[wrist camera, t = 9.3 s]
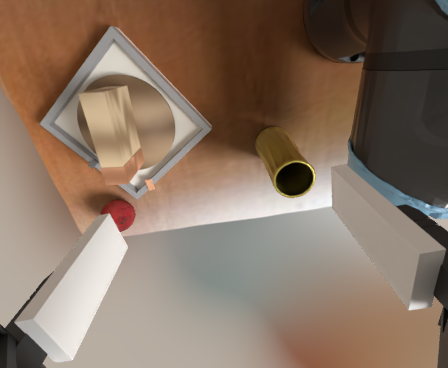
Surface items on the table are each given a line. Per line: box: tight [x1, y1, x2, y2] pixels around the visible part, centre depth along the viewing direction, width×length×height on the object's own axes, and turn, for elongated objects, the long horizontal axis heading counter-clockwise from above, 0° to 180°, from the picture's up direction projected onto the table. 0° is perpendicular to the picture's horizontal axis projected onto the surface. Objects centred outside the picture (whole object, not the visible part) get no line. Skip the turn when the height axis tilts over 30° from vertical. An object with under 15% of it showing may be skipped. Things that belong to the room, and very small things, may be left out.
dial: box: [77, 74, 175, 185], centre depth 35 cm, size 15×15×9 cm
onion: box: [101, 200, 136, 232], centre depth 44 cm, size 6×6×8 cm
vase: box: [255, 127, 315, 198], centre depth 36 cm, size 6×6×14 cm
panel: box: [40, 26, 212, 200], centre depth 39 cm, size 19×20×3 cm
